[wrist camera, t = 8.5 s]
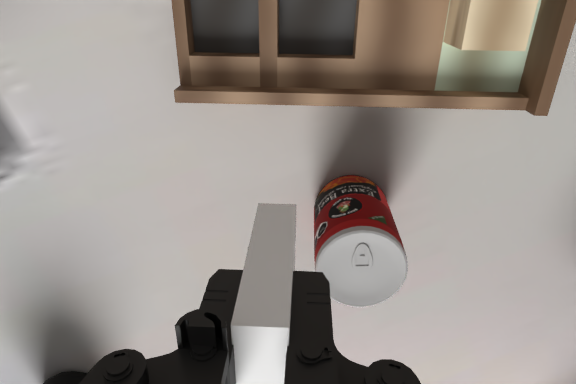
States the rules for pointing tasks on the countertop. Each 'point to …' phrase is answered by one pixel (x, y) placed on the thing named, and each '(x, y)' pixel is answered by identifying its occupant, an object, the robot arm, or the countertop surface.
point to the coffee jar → (66, 378)
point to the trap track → (360, 55)
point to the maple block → (490, 24)
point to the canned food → (357, 243)
